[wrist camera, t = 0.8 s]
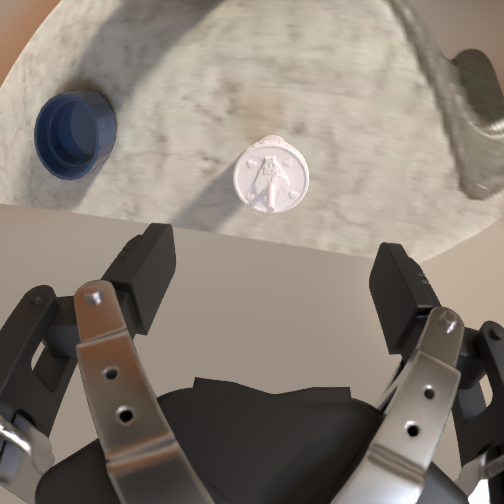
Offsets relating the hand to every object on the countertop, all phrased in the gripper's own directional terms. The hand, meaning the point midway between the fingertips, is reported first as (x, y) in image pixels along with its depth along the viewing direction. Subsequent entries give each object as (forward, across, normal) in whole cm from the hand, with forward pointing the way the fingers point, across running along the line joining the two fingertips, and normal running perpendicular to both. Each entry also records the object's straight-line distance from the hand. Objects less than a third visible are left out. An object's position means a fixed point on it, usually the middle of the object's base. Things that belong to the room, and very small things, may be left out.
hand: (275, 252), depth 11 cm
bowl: (+23, +25, -1) cm, 34 cm away
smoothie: (+23, 0, +2) cm, 23 cm away
